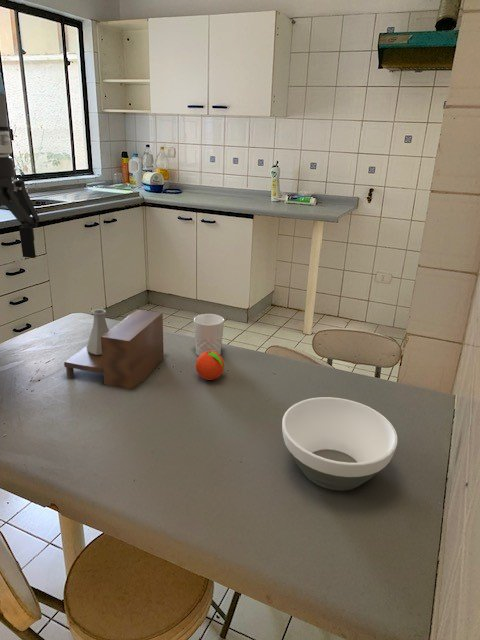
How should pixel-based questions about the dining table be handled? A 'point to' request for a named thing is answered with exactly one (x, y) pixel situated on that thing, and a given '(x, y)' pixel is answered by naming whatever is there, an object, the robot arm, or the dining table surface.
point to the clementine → (210, 365)
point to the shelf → (125, 351)
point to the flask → (97, 332)
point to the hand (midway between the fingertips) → (7, 265)
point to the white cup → (208, 333)
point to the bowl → (338, 440)
